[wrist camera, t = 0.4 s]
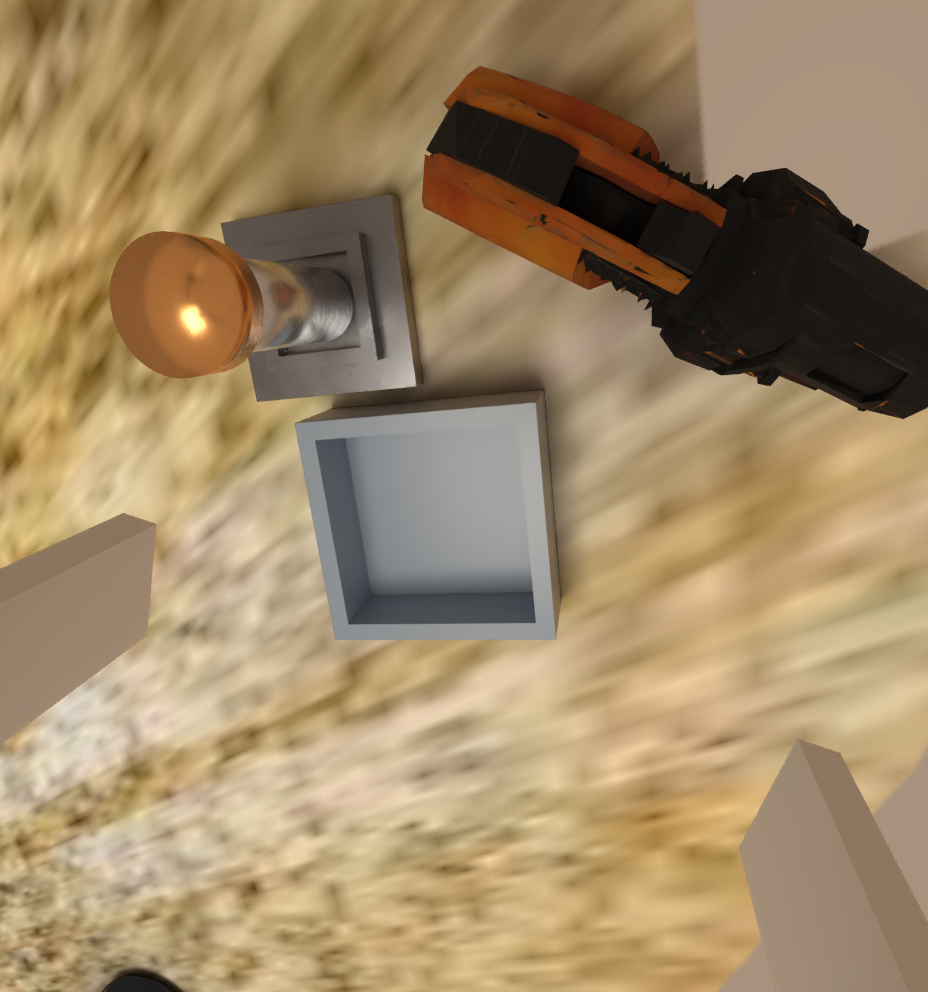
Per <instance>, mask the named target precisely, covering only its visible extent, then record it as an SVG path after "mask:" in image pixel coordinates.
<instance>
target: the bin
mask: <svg viewBox="0 0 928 992" xmlns="http://www.w3.org/2000/svg"><path fill="white" fill-rule="evenodd" d="M295 428H296V434H297V439H298V444H299V450H300V455H301V460H302V465H303V471H304V476H305V481H306V487H307V492H308V497H309V502H310V508H311V513H312V518H313V524H314V529H315V534H316V539H317V545H318V550H319V555H320V561H321V566H322V571H323V576H324V582H325V587H326V592H327V598H328V603H329V608H330V613H331V619H332V624H333V629H334V635H335V640H556V635H557V627H558V620H559V613H560V606H561V589H560V576H559V564H558V552H557V540H556V527H555V515H554V503H553V490H552V478H551V466H550V453H549V441H548V429H547V416H546V404H545V392H544V389H543V390H532V391H521V392H510V393H499V394H488V395H477V396H466V397H455V398H444V399H433V400H422V401H411V402H400V403H389V404H379V405H368V406H357V407H346V408H335V409H330V410H327V411H325V412H322V413H320V414H317V415H315V416H312V417H310V418H307V419H305V420H302V421H300V422H297V423H295Z"/></svg>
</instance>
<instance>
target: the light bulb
mask: <svg viewBox="0 0 928 992" xmlns="http://www.w3.org/2000/svg"><path fill="white" fill-rule="evenodd" d="M110 304H111V310H112V315H113V319H114V322H115V325H116V327H117V330H118V332H119V334H120V336H121V338H122V339H123V341H124V343H125V344H126V346H127V347H128V349H129V350H130V351H131V352H132V353H133V354H134V356H135V357H136V358H137V359H139V360H140V361H141V362H142V363H143V364H144V365H146V366H147V367H149V368H150V369H152V370H154V371H155V372H157V373H160V374H162V375H165V376H169V377H173V378H192V377H197V376H203V375H208V374H213V373H219V372H224V371H228V370H230V369H233V368H235V367H237V366H238V365H240V364H241V363H242V362H244V361H245V360H246V359H247V358H248V357H249V356H250V355H251V353H252V352H258V351H265V350H272V349H278V348H285V347H292V346H299V345H306V344H313V343H320V342H326V341H331V340H333V339H335V338H337V337H339V336H340V335H341V334H342V333H343V332H344V331H345V330H346V329H347V327H348V325H349V323H350V321H351V318H352V312H353V302H352V297H351V294H350V291H349V289H348V287H347V285H346V284H345V282H344V281H343V280H342V279H341V278H340V277H339V276H338V275H337V274H336V273H334V272H332V271H331V270H328V269H325V268H320V267H311V266H303V265H295V264H286V263H278V262H270V261H261V260H253V259H244V258H242V257H241V256H239V255H238V254H237V253H236V252H235V251H234V250H233V249H231V248H230V247H228V246H227V245H225V244H223V243H221V242H219V241H216V240H214V239H210V238H206V237H200V236H194V235H188V234H181V233H175V232H166V231H161V232H153V233H149V234H146V235H144V236H142V237H139V238H138V239H136V240H135V241H133V242H132V243H131V244H130V245H129V246H128V247H127V248H126V249H125V250H124V251H123V253H122V254H121V255H120V257H119V259H118V261H117V263H116V265H115V267H114V270H113V274H112V278H111V284H110Z"/></svg>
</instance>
